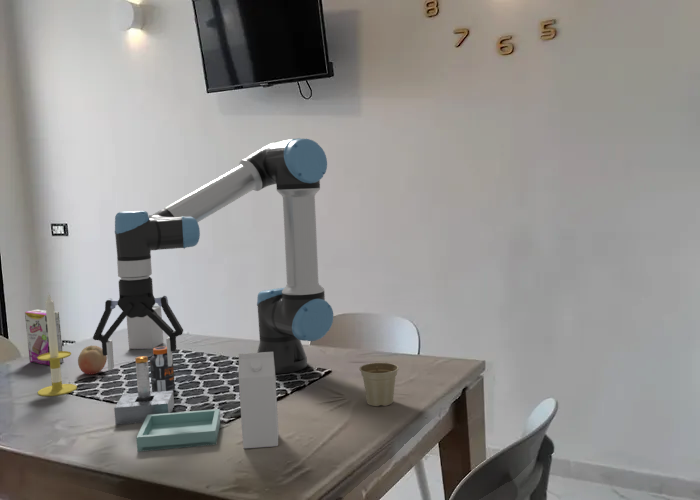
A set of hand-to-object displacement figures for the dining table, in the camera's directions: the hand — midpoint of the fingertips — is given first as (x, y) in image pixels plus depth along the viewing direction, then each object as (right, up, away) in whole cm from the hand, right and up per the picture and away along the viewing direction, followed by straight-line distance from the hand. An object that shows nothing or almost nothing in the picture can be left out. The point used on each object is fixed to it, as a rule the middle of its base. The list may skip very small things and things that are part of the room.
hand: (140, 366), depth 166 cm
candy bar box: (-47, -8, +56) cm, 73 cm away
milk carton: (+31, -13, -18) cm, 38 cm away
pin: (+1, -12, +1) cm, 12 cm away
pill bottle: (-1, -10, +22) cm, 24 cm away
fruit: (-26, -9, +41) cm, 49 cm away
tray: (+13, -13, -13) cm, 22 cm away
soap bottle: (-20, -5, +73) cm, 76 cm away
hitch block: (+1, -12, +1) cm, 12 cm away
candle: (-30, -11, +25) cm, 41 cm away
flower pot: (+57, -9, +3) cm, 57 cm away
